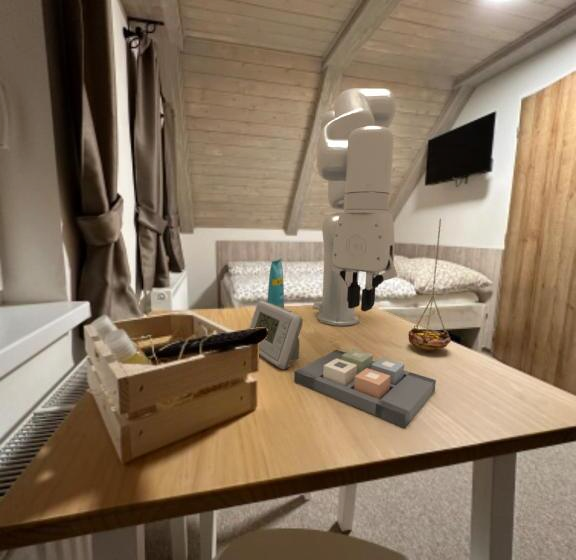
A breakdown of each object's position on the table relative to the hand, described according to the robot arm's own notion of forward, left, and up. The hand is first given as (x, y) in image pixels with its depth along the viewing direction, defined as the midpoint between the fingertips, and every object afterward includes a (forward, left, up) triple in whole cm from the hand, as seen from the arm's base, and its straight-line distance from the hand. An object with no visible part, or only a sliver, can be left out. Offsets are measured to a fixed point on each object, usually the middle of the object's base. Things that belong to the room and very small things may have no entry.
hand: (360, 307), depth 58 cm
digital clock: (-18, -4, -13) cm, 23 cm away
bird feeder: (+6, +23, -13) cm, 27 cm away
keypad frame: (+3, -3, -13) cm, 14 cm away
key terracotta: (+6, -6, -12) cm, 14 cm away
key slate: (+6, 0, -12) cm, 13 cm away
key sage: (0, 0, -12) cm, 12 cm away
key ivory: (0, -6, -12) cm, 13 cm away
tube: (-28, +8, -13) cm, 32 cm away
